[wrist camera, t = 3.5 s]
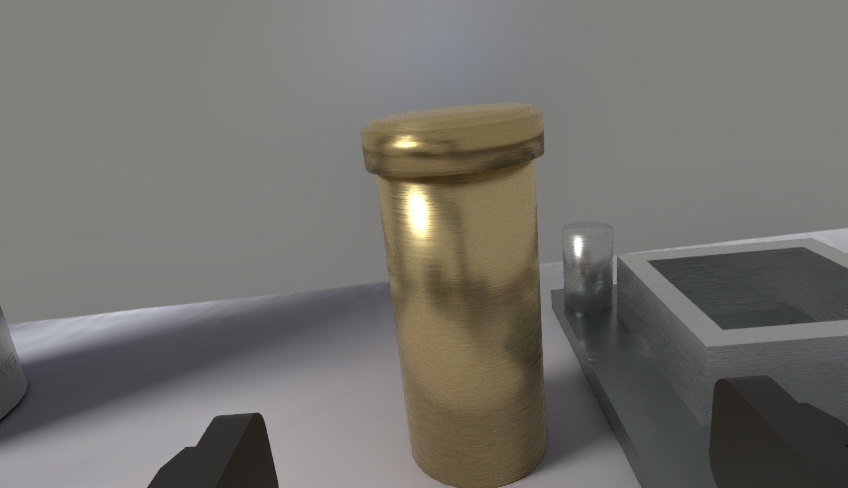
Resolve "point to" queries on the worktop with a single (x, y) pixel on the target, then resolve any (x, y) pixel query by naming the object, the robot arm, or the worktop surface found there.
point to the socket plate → (700, 337)
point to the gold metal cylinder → (465, 284)
